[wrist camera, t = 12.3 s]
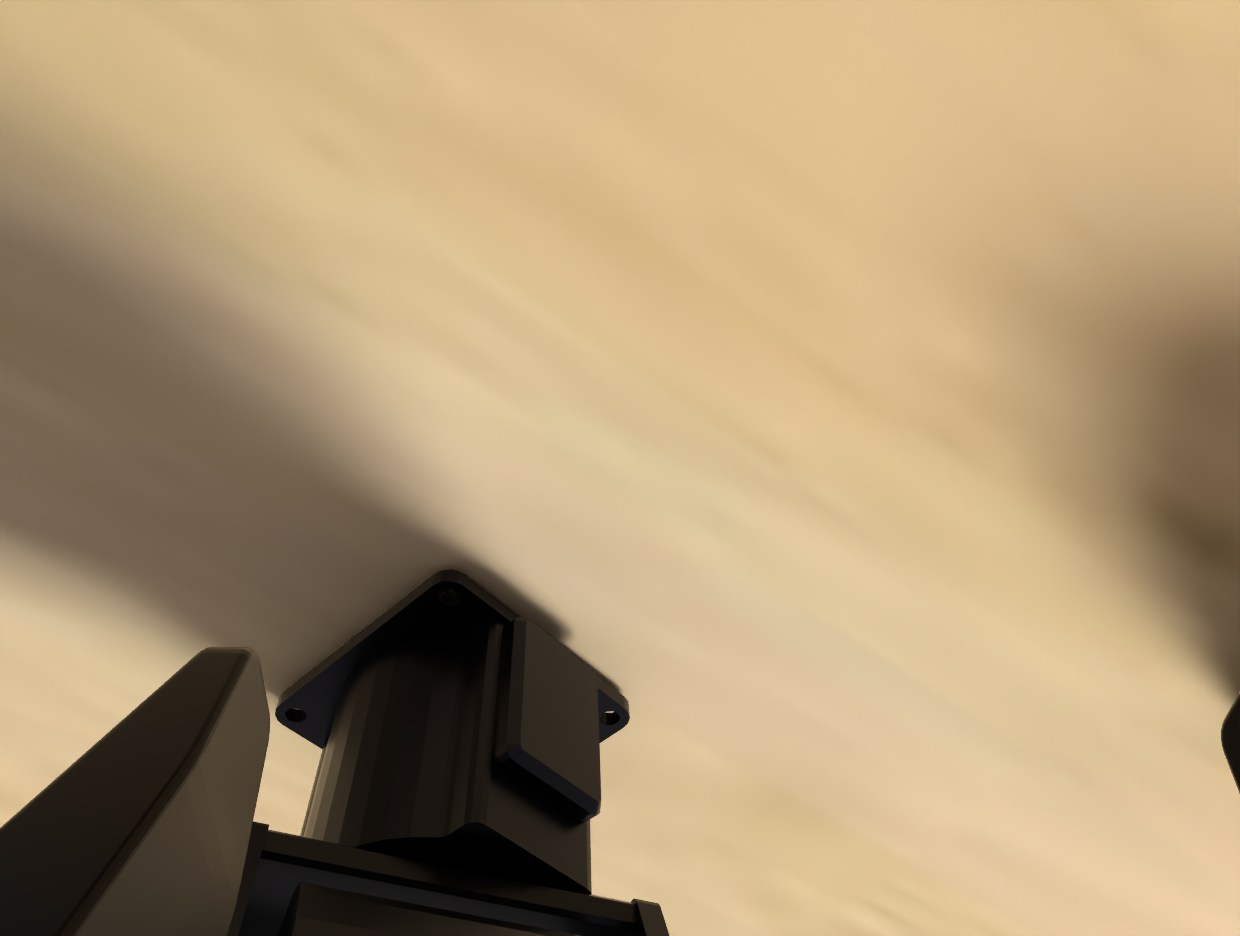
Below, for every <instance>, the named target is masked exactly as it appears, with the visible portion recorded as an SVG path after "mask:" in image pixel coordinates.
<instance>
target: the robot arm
mask: <svg viewBox="0 0 1240 936" xmlns="http://www.w3.org/2000/svg"><path fill="white" fill-rule="evenodd" d="M445 589H452V590H454V591H456V592H458V593H457V594H455V595H448V594H446V593H444V592H442V591H443V590H445ZM294 708H299V709H301V710H296V709H294ZM607 711H614V712H613V713H605V712H607ZM275 716H276V718H277V720H278V721H279V722H280V723H281V724H283V725H284V726H286V727H287V728H289V729H290V730H292V731H294V732H295V733H297V734H299V735H300V736H302V737H303V738H305V739H307V740H308V741H310V742H312V743H313V744H315V745H317V746H318V747H320V748H321V749H323V750H322V754H321V758H320V762H319V766H318V770H317V773H316V777H315V781H314V785H313V789H312V793H311V797H310V801H309V804H308V808H307V812H306V816H305V820H304V824H303V828H302V831H301V835H300V836H297V835H292V834H287V833H282V832H277V831H272V830H268V827H269V825H268V824H263V823H258V822H253V818H254V812H255V807H256V802H257V797H258V792H259V787H260V782H261V777H262V772H263V767H264V762H265V756H266V751H267V746H268V741H269V733H270V714H269V708H268V703H267V697H266V692H265V687H264V681H263V676H262V671H261V665H260V661H259V657H258V656H257V654H256V652H255V651H254V650H253V649H251V648H247V647H210V648H206V649H204V650H202V651H201V652H199V653H198V654H197V655H196V656H195V657H193V658H192V659H191V660H190V661H189V662H188V663H187V664H185V665H184V666H183V667H182V668H181V669H180V670H179V671H178V672H176V673H175V674H174V675H173V676H172V677H171V678H170V679H168V680H167V681H166V682H165V683H164V684H163V685H162V686H161V687H159V688H158V689H157V690H156V691H155V692H154V693H153V694H152V695H150V696H149V697H148V698H147V699H146V700H145V701H144V702H142V703H141V704H140V705H139V706H138V707H137V708H136V709H135V710H133V711H132V712H131V713H130V714H129V715H128V716H127V717H125V718H124V719H123V720H122V721H121V722H120V723H119V724H118V725H116V726H115V727H114V728H113V729H112V730H111V731H110V732H108V733H107V734H106V735H105V736H104V737H103V738H102V739H101V740H99V741H98V742H97V743H96V744H95V745H94V746H93V747H91V748H90V749H89V750H88V751H87V752H86V753H85V754H84V755H82V756H81V757H80V758H79V759H78V760H77V761H76V762H74V763H73V764H72V765H71V766H70V767H69V768H68V769H67V770H65V771H64V772H63V773H62V774H61V775H60V776H59V777H57V778H56V779H55V780H54V781H53V782H52V783H51V784H50V785H48V786H47V787H46V788H45V789H44V790H43V791H42V792H40V793H39V794H38V795H37V796H36V797H35V798H34V799H33V800H31V801H30V802H29V803H28V804H27V805H26V806H25V807H23V808H22V809H21V810H20V811H19V812H18V813H17V814H16V815H14V816H13V817H12V818H11V819H10V820H9V821H8V822H6V823H5V824H4V825H3V826H2V827H1V828H0V936H669V933H668V930H667V927H666V923H665V920H664V917H663V914H662V910H661V907H660V905H659V904H658V903H653V902H648V901H643V900H638V899H633V900H632V901H631V903H630V902H625V901H620V900H615V899H610V898H605V897H600V896H595V895H591V847H590V819H591V818H593V817H594V816H596V815H598V814H599V813H600V808H601V779H600V747H599V743H601V742H602V741H604V740H605V739H607V738H608V737H610V736H611V735H613V734H614V733H616V732H618V731H619V730H621V729H622V728H623V727H625V726H626V725H627V724H628V721H629V719H630V716H629V704H628V701H627V699H626V698H625V697H624V696H623V695H621V694H620V693H619V692H617V691H616V690H615V689H614V688H612V687H611V686H610V685H608V684H607V683H606V682H604V681H603V680H602V679H601V678H599V677H598V676H597V673H596V672H595V671H594V670H593V669H592V668H591V667H589V666H588V665H587V664H585V663H584V662H583V661H582V660H580V659H579V658H578V657H576V656H575V655H574V654H573V653H571V652H570V651H569V650H567V649H566V648H565V647H563V646H562V645H561V644H560V643H558V642H557V641H556V640H554V639H553V638H552V637H550V636H549V635H548V634H547V633H545V632H544V631H543V630H541V629H540V628H539V627H537V626H536V625H535V624H534V623H532V622H531V621H530V620H527V619H524V618H521V617H520V616H519V615H517V614H516V613H515V612H513V611H512V610H511V609H510V608H508V607H507V606H506V605H504V604H503V603H502V602H500V601H499V600H498V599H497V598H495V597H494V596H493V595H491V594H490V593H489V592H487V591H486V590H485V589H484V588H482V587H481V586H480V585H478V584H477V583H476V582H474V581H473V580H472V579H471V578H469V577H468V576H467V575H465V574H463V573H461V572H459V571H455V570H444V571H440V572H438V573H436V574H435V575H433V576H432V577H431V578H429V579H428V580H427V581H426V582H424V583H423V584H422V585H421V586H419V587H418V588H417V589H415V590H414V591H413V592H412V593H410V594H409V595H408V596H406V597H405V598H404V599H403V600H401V601H400V602H399V603H397V604H396V605H395V606H394V607H392V608H391V609H390V610H389V611H387V612H386V613H385V614H383V615H382V616H381V617H380V618H378V619H377V620H376V621H374V622H373V623H372V624H371V625H369V626H368V627H367V628H366V629H364V630H363V631H362V632H360V633H359V634H358V635H357V636H355V637H354V638H353V639H351V640H350V641H349V642H348V643H346V644H345V645H344V646H343V647H341V648H340V649H339V650H337V651H336V652H335V653H334V654H332V655H331V656H330V657H328V658H327V659H326V660H325V661H323V662H322V663H321V664H319V665H318V666H317V667H316V668H314V669H313V670H312V671H311V672H309V673H308V674H307V675H305V676H304V677H303V678H302V679H300V680H299V681H298V682H296V683H295V684H294V685H293V686H291V687H290V688H289V689H288V690H286V691H285V692H284V693H283V694H282V695H281V696H280V698H279V701H278V704H277V707H276V712H275ZM1221 741H1222V747H1223V750H1224V754H1225V756H1226V759H1227V761H1228V764H1229V767H1230V769H1231V772H1232V774H1233V777H1234V780H1235V782H1236V785H1237V787H1238V790H1239V793H1240V692H1239V694H1238V696H1237V698H1236V699H1235V701H1234V703H1233V705H1232V707H1231V708H1230V710H1229V712H1228V714H1227V716H1226V717H1225V719H1224V722H1223V724H1222V729H1221Z"/></svg>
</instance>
